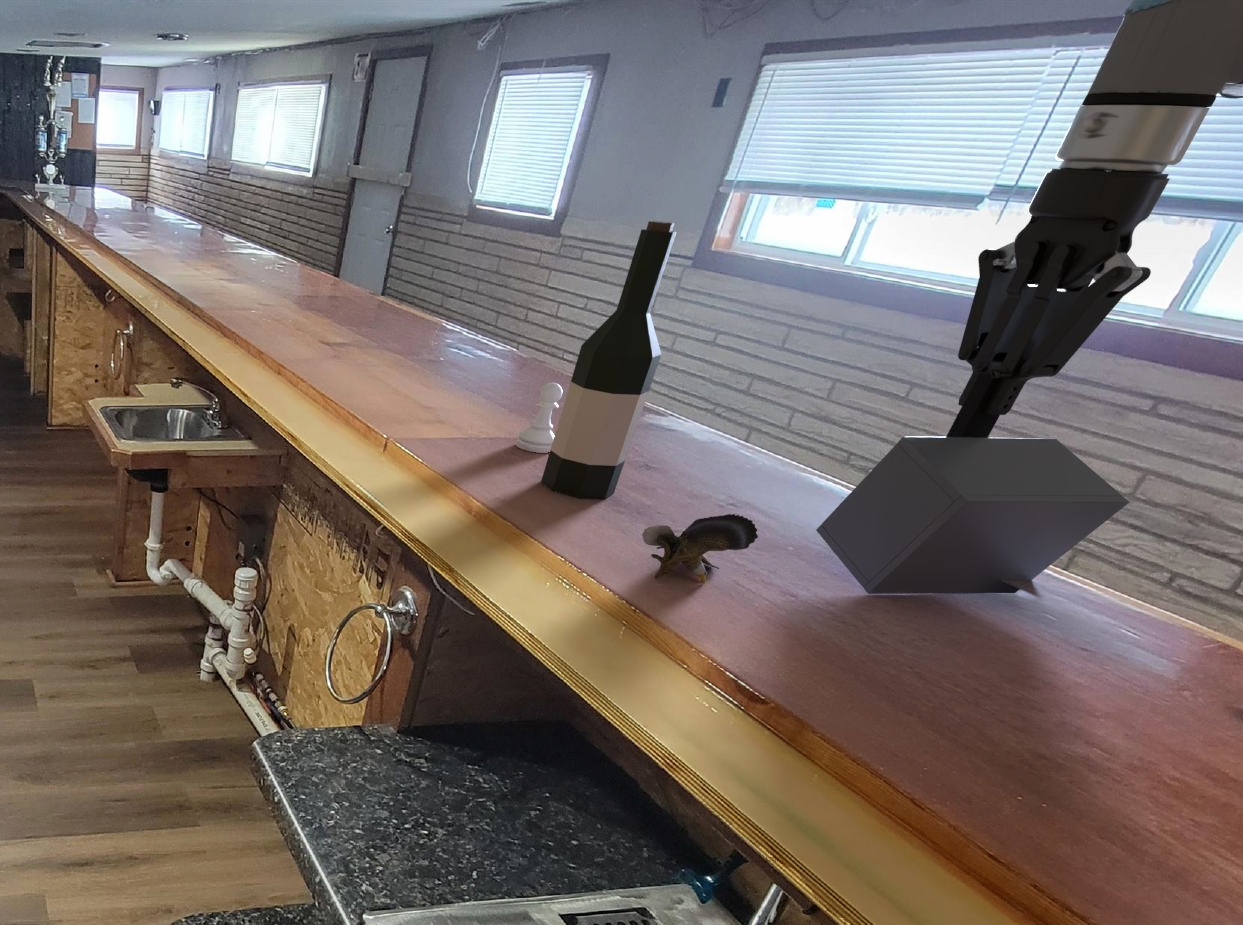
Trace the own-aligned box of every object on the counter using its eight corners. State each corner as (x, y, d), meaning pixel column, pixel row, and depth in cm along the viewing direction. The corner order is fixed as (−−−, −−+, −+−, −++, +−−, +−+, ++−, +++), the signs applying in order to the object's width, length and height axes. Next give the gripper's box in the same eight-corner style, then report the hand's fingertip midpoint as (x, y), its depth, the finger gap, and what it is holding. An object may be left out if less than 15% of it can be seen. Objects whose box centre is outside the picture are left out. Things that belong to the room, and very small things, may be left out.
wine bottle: (541, 492, 110) (622, 221, 95) (540, 472, 117) (615, 217, 102) (616, 504, 108) (712, 227, 93) (610, 482, 114) (699, 222, 99)
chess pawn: (538, 455, 123) (557, 389, 119) (507, 445, 127) (525, 380, 123) (562, 451, 126) (581, 385, 121) (531, 441, 129) (549, 377, 125)
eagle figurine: (718, 591, 84) (772, 557, 88) (693, 520, 84) (748, 489, 87) (641, 601, 91) (694, 569, 95) (618, 536, 91) (671, 506, 94)
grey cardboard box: (954, 530, 95) (1056, 438, 86) (1015, 593, 90) (1130, 502, 80) (815, 529, 94) (903, 436, 84) (867, 594, 88) (968, 501, 79)
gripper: (996, 162, 80) (871, 424, 92) (1156, 169, 69) (990, 466, 81) (1071, 166, 81) (938, 425, 93) (1242, 173, 70) (1065, 467, 82)
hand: (962, 444), depth 87 cm, fingers closed
